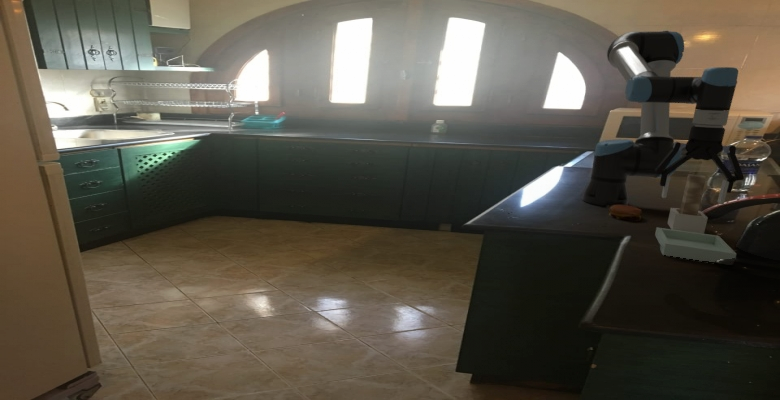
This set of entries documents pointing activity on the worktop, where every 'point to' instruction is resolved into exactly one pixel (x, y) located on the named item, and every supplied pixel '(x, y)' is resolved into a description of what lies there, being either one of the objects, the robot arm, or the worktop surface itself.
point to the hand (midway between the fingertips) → (691, 200)
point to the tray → (693, 245)
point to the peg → (692, 194)
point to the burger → (625, 212)
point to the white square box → (687, 221)
